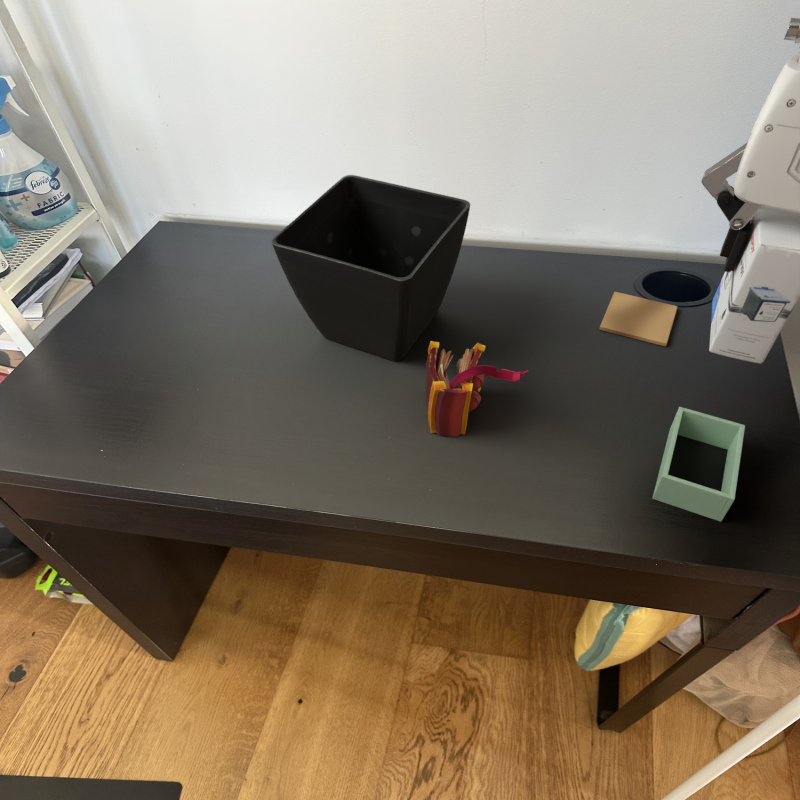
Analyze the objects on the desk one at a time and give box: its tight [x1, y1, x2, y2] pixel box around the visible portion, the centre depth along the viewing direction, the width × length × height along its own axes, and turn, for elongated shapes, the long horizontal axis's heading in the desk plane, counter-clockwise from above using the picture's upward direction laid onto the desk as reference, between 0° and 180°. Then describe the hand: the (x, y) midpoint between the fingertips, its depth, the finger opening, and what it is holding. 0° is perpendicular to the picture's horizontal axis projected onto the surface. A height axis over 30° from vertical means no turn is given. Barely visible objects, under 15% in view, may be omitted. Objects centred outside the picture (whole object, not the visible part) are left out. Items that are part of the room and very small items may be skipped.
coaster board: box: [599, 291, 679, 347], centre depth 89 cm, size 9×9×1 cm
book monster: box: [425, 340, 529, 438], centre depth 73 cm, size 11×9×12 cm
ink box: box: [708, 206, 800, 364], centre depth 56 cm, size 9×5×12 cm, turn 159°
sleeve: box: [652, 406, 746, 522], centre depth 68 cm, size 7×11×4 cm, turn 154°
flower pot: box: [271, 174, 471, 362], centre depth 84 cm, size 19×19×17 cm
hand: (766, 269), depth 55 cm, fingers closed on ink box, 5 cm apart
